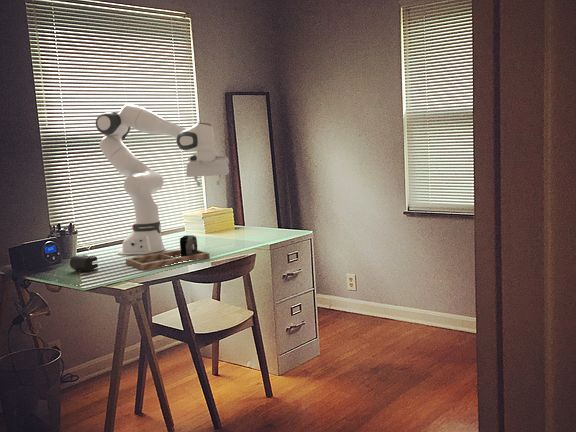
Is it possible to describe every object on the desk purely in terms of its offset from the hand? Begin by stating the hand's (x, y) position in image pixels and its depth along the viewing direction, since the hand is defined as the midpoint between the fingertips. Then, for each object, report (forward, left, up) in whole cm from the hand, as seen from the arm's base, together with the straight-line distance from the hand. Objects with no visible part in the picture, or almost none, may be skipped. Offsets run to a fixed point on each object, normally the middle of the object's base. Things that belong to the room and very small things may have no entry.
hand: (208, 185), depth 297 cm
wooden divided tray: (-18, -24, -31) cm, 43 cm away
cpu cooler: (-9, -20, -31) cm, 38 cm away
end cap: (-52, -35, -31) cm, 70 cm away
